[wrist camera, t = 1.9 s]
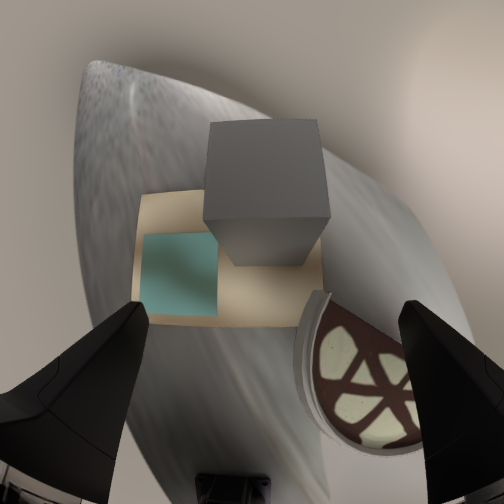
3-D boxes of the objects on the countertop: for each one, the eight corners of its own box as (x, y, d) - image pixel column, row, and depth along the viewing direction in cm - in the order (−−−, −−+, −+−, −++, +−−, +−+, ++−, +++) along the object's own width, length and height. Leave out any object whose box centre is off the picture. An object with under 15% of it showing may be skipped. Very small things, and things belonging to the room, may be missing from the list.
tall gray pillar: (302, 265, 20) (330, 217, 10) (235, 266, 20) (202, 220, 10) (298, 202, 21) (316, 119, 11) (235, 204, 21) (210, 122, 12)
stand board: (321, 325, 20) (337, 327, 15) (136, 322, 21) (103, 321, 16) (313, 191, 22) (323, 160, 17) (146, 199, 23) (121, 173, 18)
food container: (254, 364, 20) (238, 404, 10) (298, 299, 21) (320, 285, 11) (374, 430, 17) (426, 484, 8) (413, 370, 18) (487, 393, 9)
